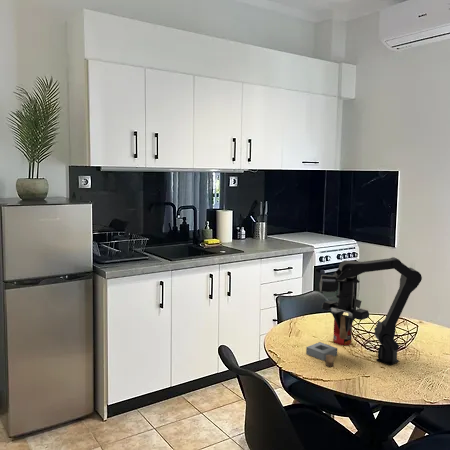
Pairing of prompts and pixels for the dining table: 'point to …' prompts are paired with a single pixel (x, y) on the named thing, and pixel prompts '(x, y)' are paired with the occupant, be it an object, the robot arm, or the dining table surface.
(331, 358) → the short pin
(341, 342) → the canned food
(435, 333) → the dining table surface
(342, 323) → the long pin
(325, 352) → the socket block
